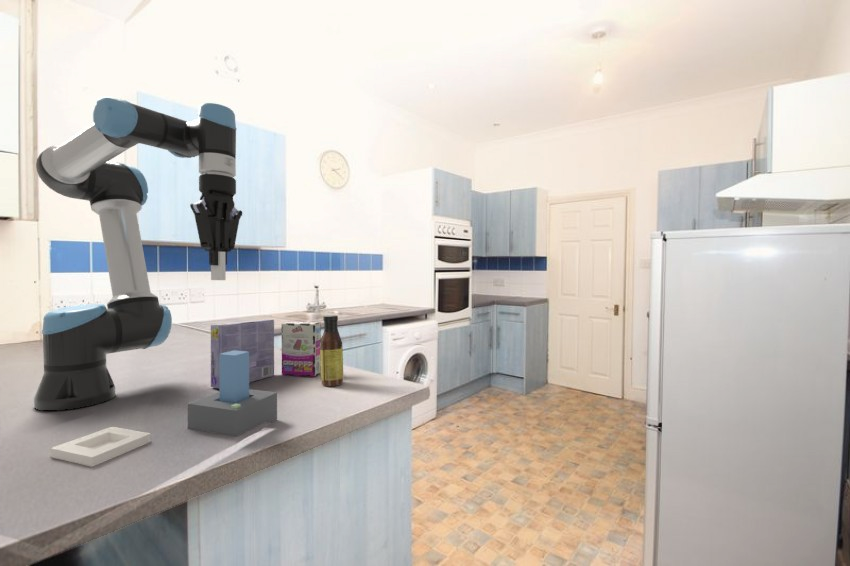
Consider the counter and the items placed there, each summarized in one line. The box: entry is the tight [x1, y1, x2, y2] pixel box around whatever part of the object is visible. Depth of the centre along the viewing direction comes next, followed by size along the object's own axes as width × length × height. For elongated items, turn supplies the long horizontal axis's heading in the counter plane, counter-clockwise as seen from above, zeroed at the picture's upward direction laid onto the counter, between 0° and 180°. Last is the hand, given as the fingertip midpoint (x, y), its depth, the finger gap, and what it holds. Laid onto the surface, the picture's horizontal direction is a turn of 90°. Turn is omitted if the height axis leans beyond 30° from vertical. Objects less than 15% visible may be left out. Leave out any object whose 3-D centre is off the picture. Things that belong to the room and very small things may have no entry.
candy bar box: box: [281, 321, 322, 378], centre depth 127 cm, size 11×5×16 cm, turn 81°
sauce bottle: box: [320, 314, 344, 387], centre depth 116 cm, size 7×6×20 cm
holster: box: [50, 426, 152, 467], centre depth 72 cm, size 10×10×2 cm
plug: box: [218, 350, 250, 403], centre depth 85 cm, size 4×4×14 cm
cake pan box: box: [210, 319, 275, 390], centre depth 118 cm, size 19×5×18 cm, turn 150°
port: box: [187, 388, 278, 437], centre depth 85 cm, size 12×12×6 cm
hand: (218, 280), depth 93 cm, fingers closed
